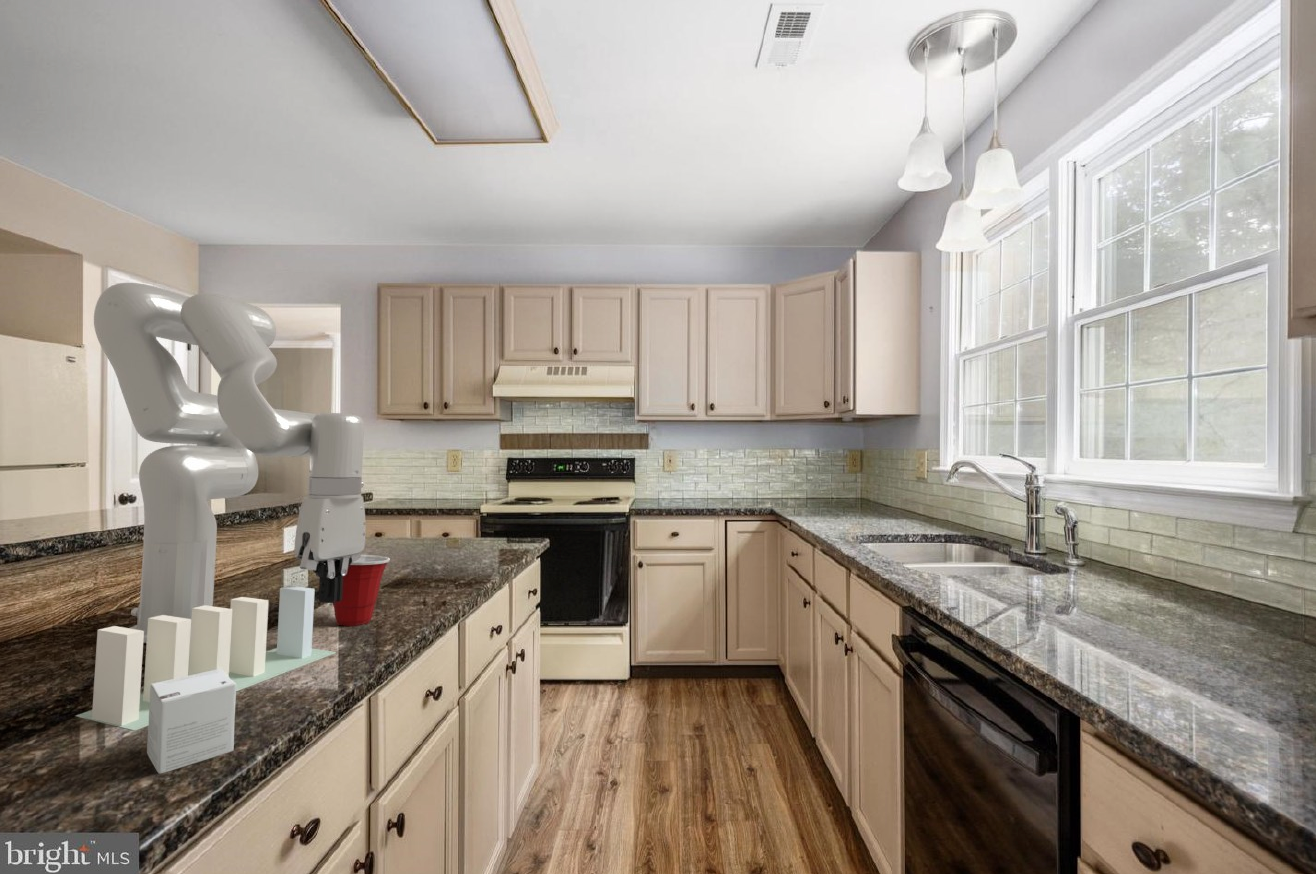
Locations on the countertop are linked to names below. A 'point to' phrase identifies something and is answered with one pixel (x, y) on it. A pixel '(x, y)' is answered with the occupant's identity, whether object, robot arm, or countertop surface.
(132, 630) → the domino
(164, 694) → the skincare box
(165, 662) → the domino
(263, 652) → the domino
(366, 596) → the plastic cup
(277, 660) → the strip
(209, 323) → the robot arm
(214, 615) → the domino
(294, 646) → the domino
